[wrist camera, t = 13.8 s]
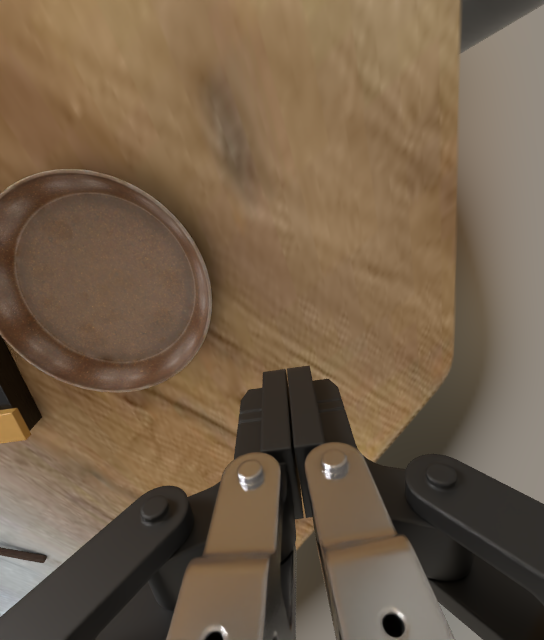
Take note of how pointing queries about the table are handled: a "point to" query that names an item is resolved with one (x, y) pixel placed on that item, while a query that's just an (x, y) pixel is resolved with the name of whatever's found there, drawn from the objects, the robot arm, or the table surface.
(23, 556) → the sushi plate
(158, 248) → the plant saucer
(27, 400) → the rail
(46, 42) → the table surface
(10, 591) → the table surface
